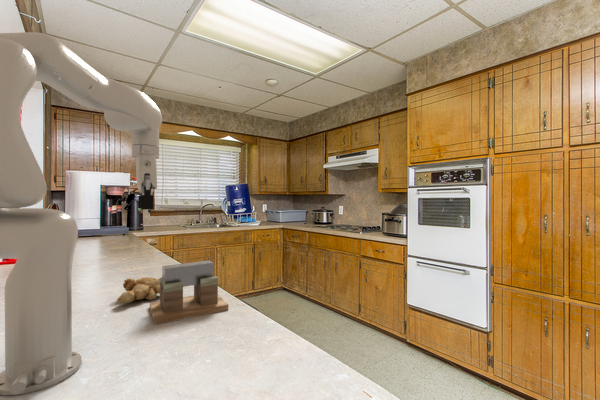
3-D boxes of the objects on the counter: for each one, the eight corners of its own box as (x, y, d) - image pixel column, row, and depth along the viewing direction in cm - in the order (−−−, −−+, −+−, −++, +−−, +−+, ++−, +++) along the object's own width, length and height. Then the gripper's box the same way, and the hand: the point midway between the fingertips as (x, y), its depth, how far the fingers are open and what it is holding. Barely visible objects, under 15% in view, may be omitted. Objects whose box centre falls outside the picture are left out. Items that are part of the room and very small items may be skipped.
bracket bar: (213, 281, 92) (213, 262, 92) (165, 289, 84) (165, 268, 84) (209, 278, 95) (209, 260, 95) (162, 286, 87) (162, 266, 87)
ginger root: (162, 283, 111) (162, 263, 109) (172, 305, 99) (173, 284, 97) (113, 292, 102) (113, 271, 100) (118, 318, 90) (117, 294, 88)
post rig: (228, 309, 89) (228, 278, 89) (154, 324, 78) (154, 288, 78) (215, 296, 101) (215, 268, 101) (149, 307, 90) (149, 276, 90)
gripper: (162, 150, 85) (162, 209, 85) (155, 156, 99) (156, 207, 100) (132, 147, 81) (133, 210, 81) (130, 155, 95) (130, 208, 96)
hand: (145, 208), depth 90 cm, fingers open, 9 cm apart
